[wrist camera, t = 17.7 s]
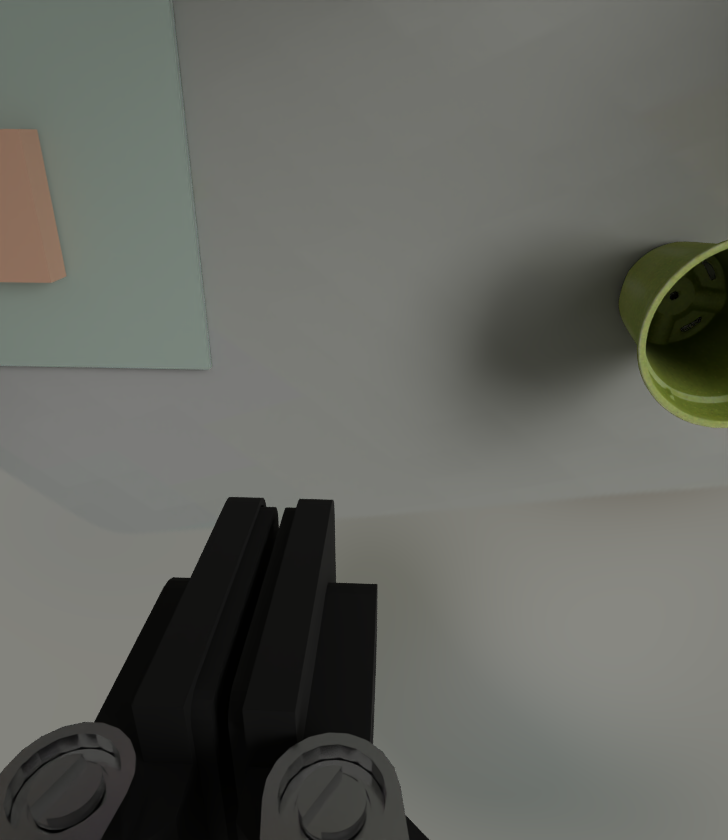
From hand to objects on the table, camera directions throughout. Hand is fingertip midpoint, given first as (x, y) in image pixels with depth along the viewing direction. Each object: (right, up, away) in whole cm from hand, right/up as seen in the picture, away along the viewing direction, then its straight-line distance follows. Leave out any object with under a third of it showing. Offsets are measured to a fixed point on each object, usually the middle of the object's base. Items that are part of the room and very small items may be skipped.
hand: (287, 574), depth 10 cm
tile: (-17, +14, +24) cm, 33 cm away
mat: (-17, +15, +26) cm, 34 cm away
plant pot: (+19, +10, +27) cm, 34 cm away
